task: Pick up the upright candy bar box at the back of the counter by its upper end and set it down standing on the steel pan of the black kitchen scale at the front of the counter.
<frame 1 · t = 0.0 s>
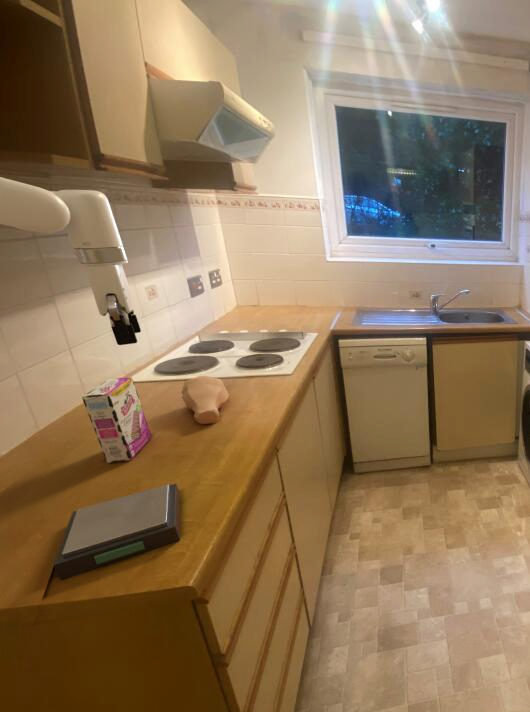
hand: (130, 338, 94), 27 cm above the countertop, tool pointing down, fingers open, 9 cm apart
candy bar box: (132, 450, 102), on the countertop
squash: (210, 412, 121), on the countertop
scale: (128, 532, 77), on the countertop
scale pan: (121, 517, 75), point 3 cm above the countertop, slide at -0.2 cm
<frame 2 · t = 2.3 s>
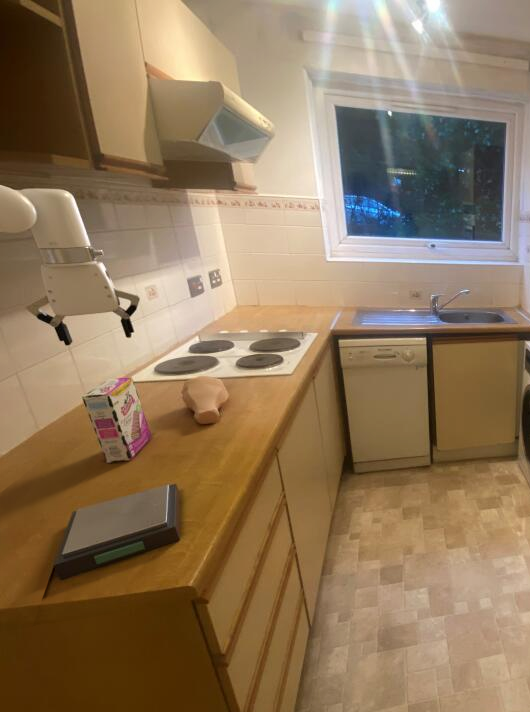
hand: (100, 340, 92), 27 cm above the countertop, tool pointing down, fingers open, 9 cm apart
nothing on the countertop moved.
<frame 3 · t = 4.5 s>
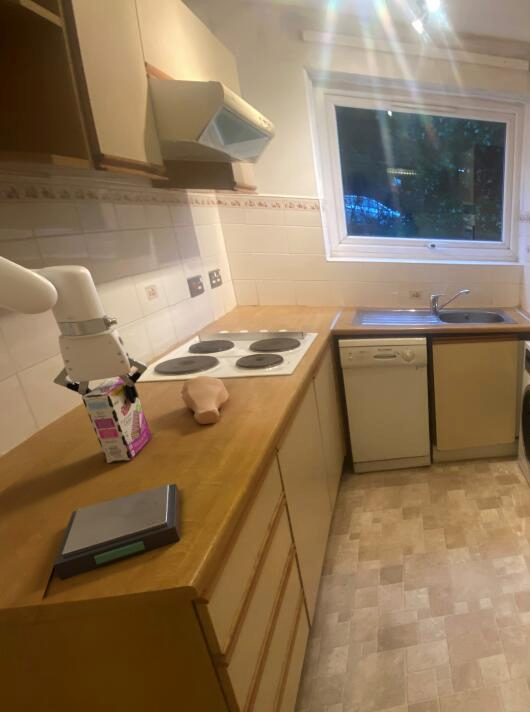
hand: (114, 404, 97), 12 cm above the countertop, tool pointing down, fingers closed on candy bar box, 6 cm apart
candy bar box: (132, 450, 102), on the countertop, touching gripper
everything else where it was.
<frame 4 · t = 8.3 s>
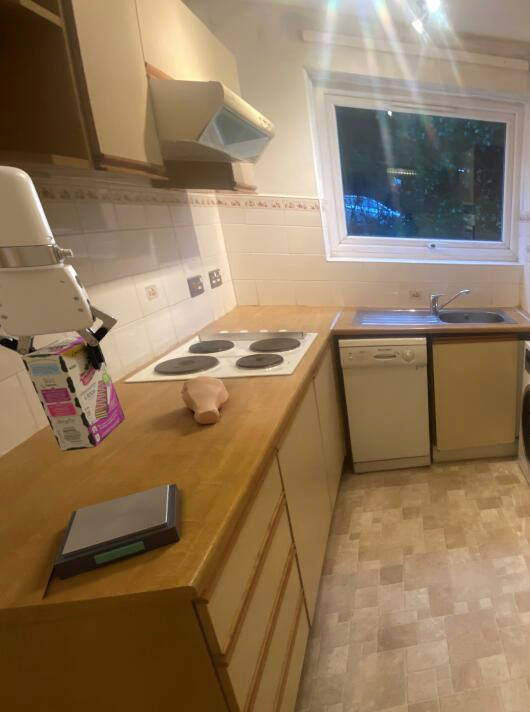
hand: (71, 370, 71), 28 cm above the countertop, tool pointing down, fingers closed on candy bar box, 6 cm apart
candy bar box: (97, 435, 76), point 16 cm above the countertop, touching gripper
everything else where it was.
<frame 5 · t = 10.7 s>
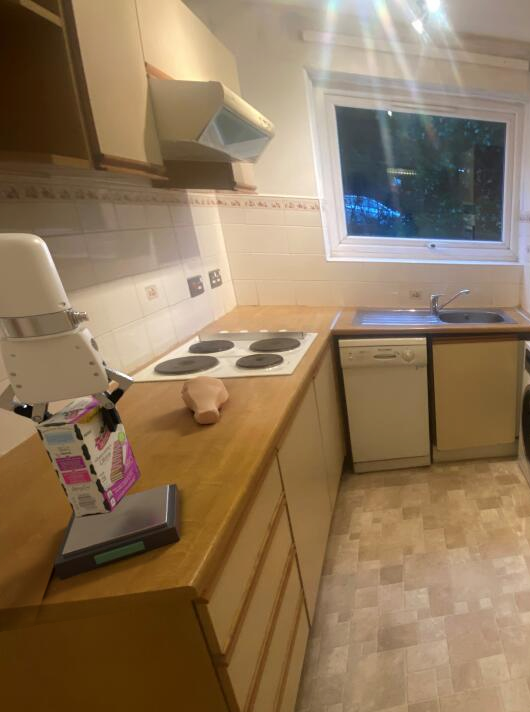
hand: (86, 433, 69), 20 cm above the countertop, tool pointing down, fingers closed on candy bar box, 6 cm apart
candy bar box: (112, 496, 74), point 8 cm above the countertop, touching gripper
everything else where it was.
when the fingers open (16 cm above the countertop, at t = 12.3 s): candy bar box stays where it is, resting on scale pan.
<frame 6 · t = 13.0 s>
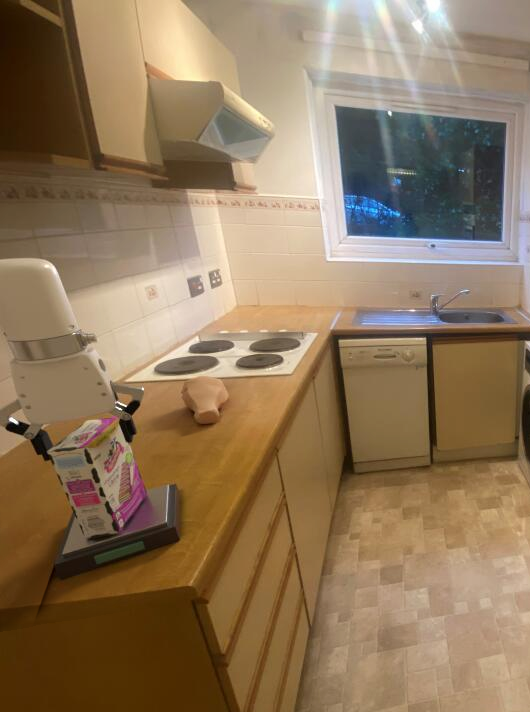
hand: (91, 447, 70), 17 cm above the countertop, tool pointing down, fingers open, 9 cm apart
candy bar box: (120, 516, 75), point 4 cm above the countertop, touching scale pan
scale pan: (121, 517, 75), point 3 cm above the countertop, slide at -0.2 cm, touching candy bar box, scale
everything else where it was.
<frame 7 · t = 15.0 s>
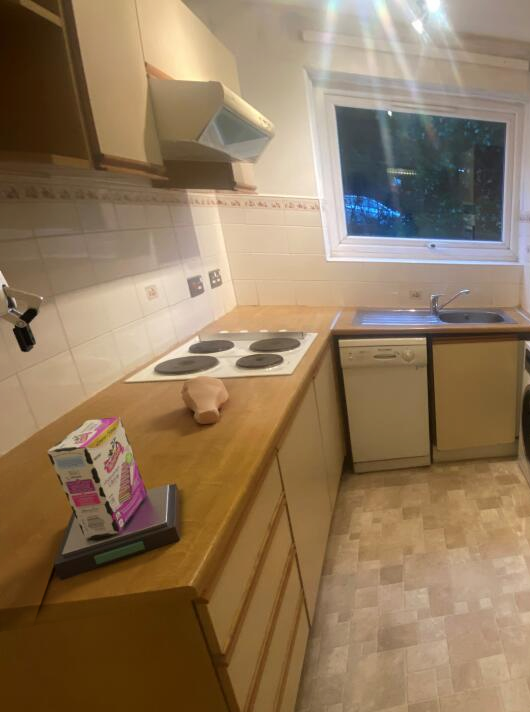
nothing on the countertop moved.
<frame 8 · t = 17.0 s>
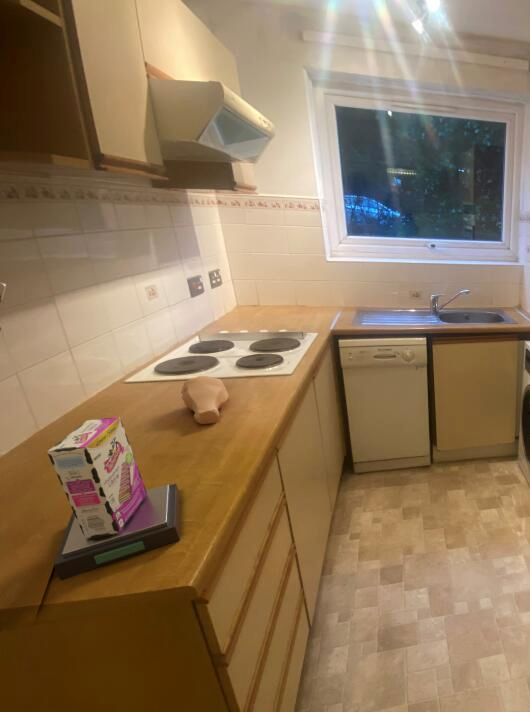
nothing on the countertop moved.
at the end: candy bar box inside the target area on the scale (0.1 cm from its centre), point 3.6 cm above the scale's base; candy bar box tilted 0°; candy bar box touching scale pan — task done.
